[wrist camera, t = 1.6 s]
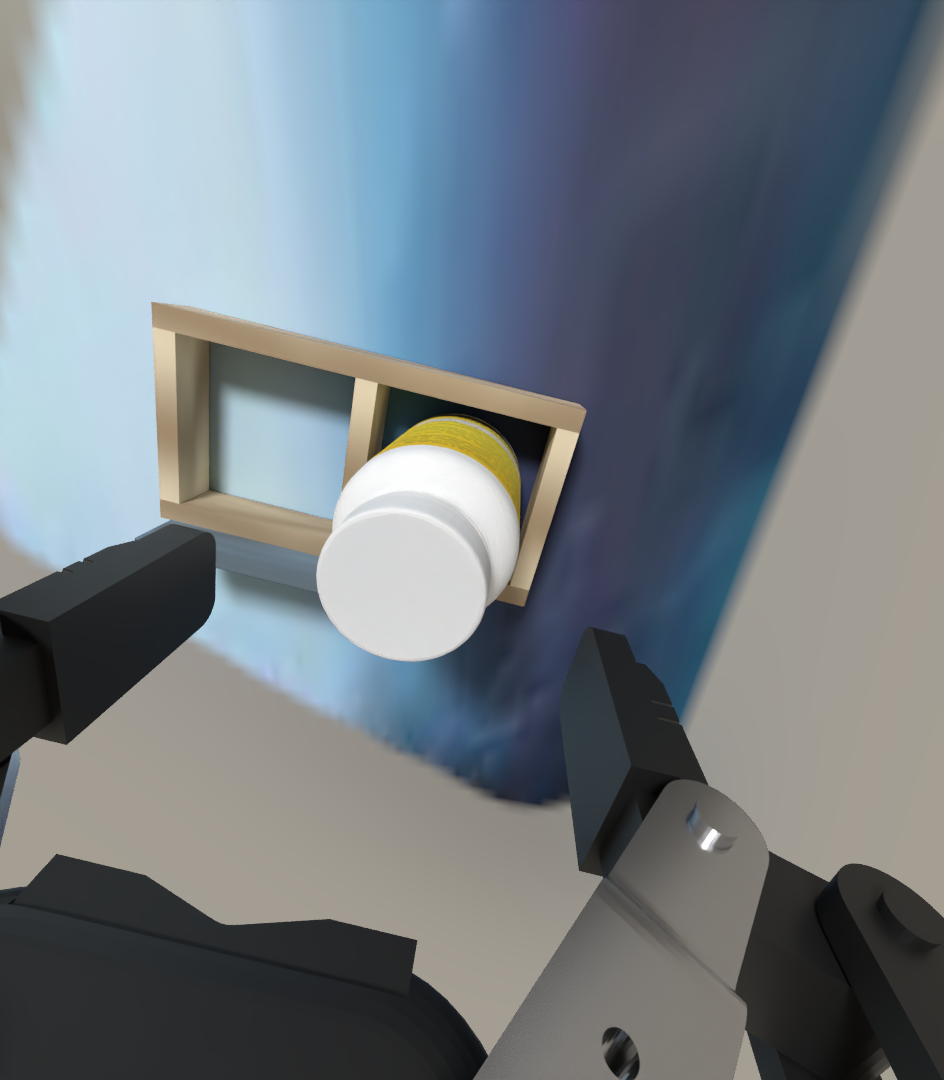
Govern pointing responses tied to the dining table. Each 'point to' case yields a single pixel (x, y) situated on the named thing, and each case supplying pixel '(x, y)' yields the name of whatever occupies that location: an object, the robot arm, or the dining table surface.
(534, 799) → the dining table surface
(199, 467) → the rack
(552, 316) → the dining table surface
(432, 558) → the supplement bottle
